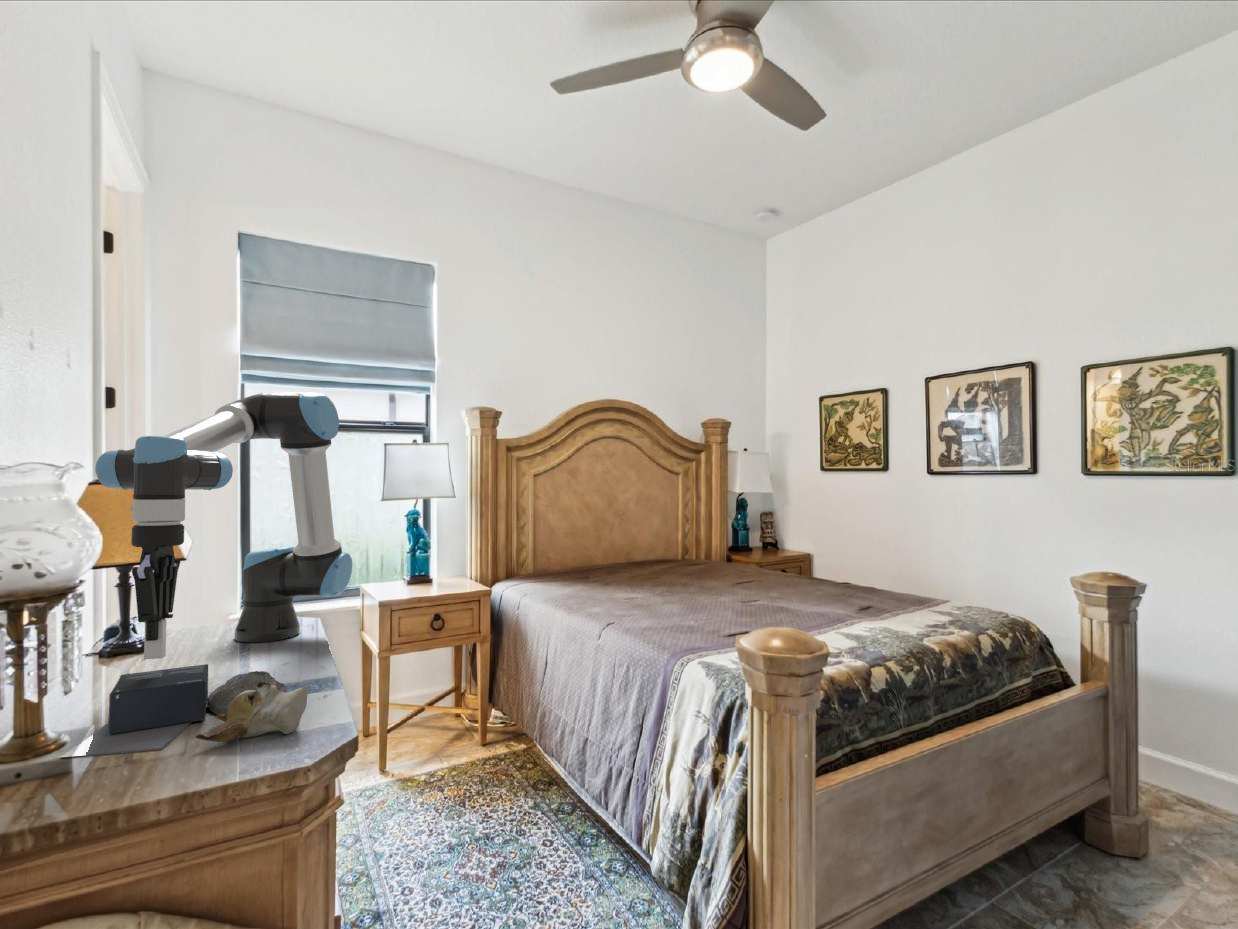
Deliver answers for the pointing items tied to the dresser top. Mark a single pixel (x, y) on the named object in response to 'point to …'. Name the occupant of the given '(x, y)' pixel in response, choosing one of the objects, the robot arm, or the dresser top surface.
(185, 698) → the small box
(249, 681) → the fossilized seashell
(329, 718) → the dresser top surface
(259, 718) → the ceramic sculpture
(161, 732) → the mat
